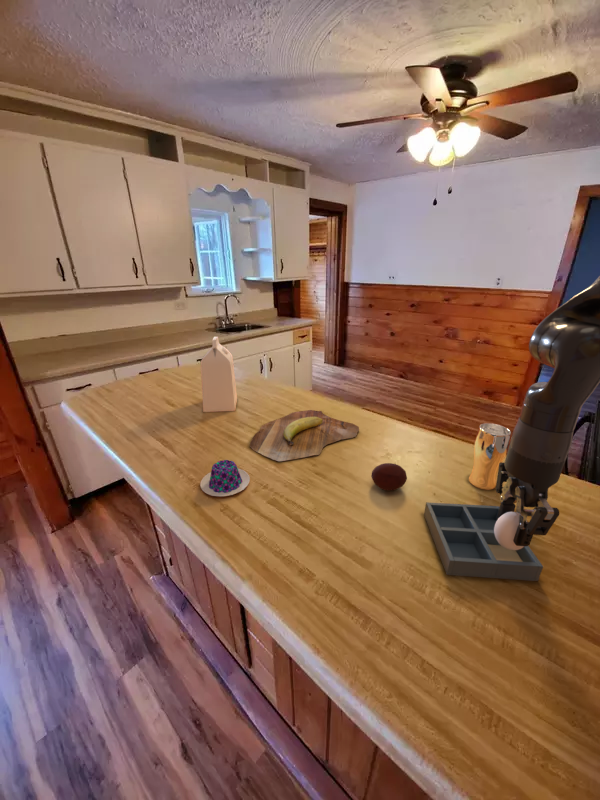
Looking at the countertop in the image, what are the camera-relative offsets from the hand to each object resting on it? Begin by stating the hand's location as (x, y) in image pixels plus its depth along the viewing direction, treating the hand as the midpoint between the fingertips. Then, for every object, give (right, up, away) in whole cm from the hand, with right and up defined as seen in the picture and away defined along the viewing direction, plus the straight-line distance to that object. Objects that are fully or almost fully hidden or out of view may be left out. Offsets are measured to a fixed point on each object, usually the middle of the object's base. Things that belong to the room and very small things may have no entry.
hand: (511, 531), depth 59 cm
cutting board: (-37, +12, +49) cm, 62 cm away
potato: (-16, +2, +23) cm, 28 cm away
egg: (0, -3, +1) cm, 4 cm away
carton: (-3, -5, +6) cm, 9 cm away
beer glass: (+8, +2, +25) cm, 26 cm away
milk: (-68, +21, +70) cm, 100 cm away
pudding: (-56, +2, +24) cm, 61 cm away
